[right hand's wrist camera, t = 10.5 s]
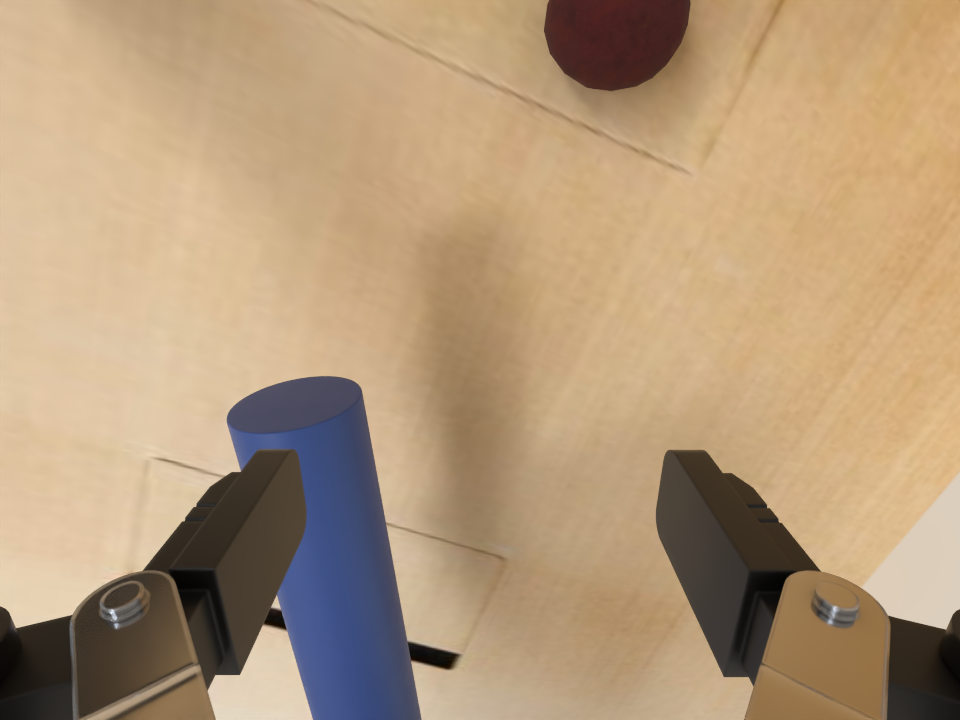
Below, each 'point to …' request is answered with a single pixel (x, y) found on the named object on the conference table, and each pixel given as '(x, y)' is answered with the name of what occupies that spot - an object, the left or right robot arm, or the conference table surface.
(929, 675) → the right robot arm
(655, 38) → the potato
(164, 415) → the conference table surface
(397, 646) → the rod
